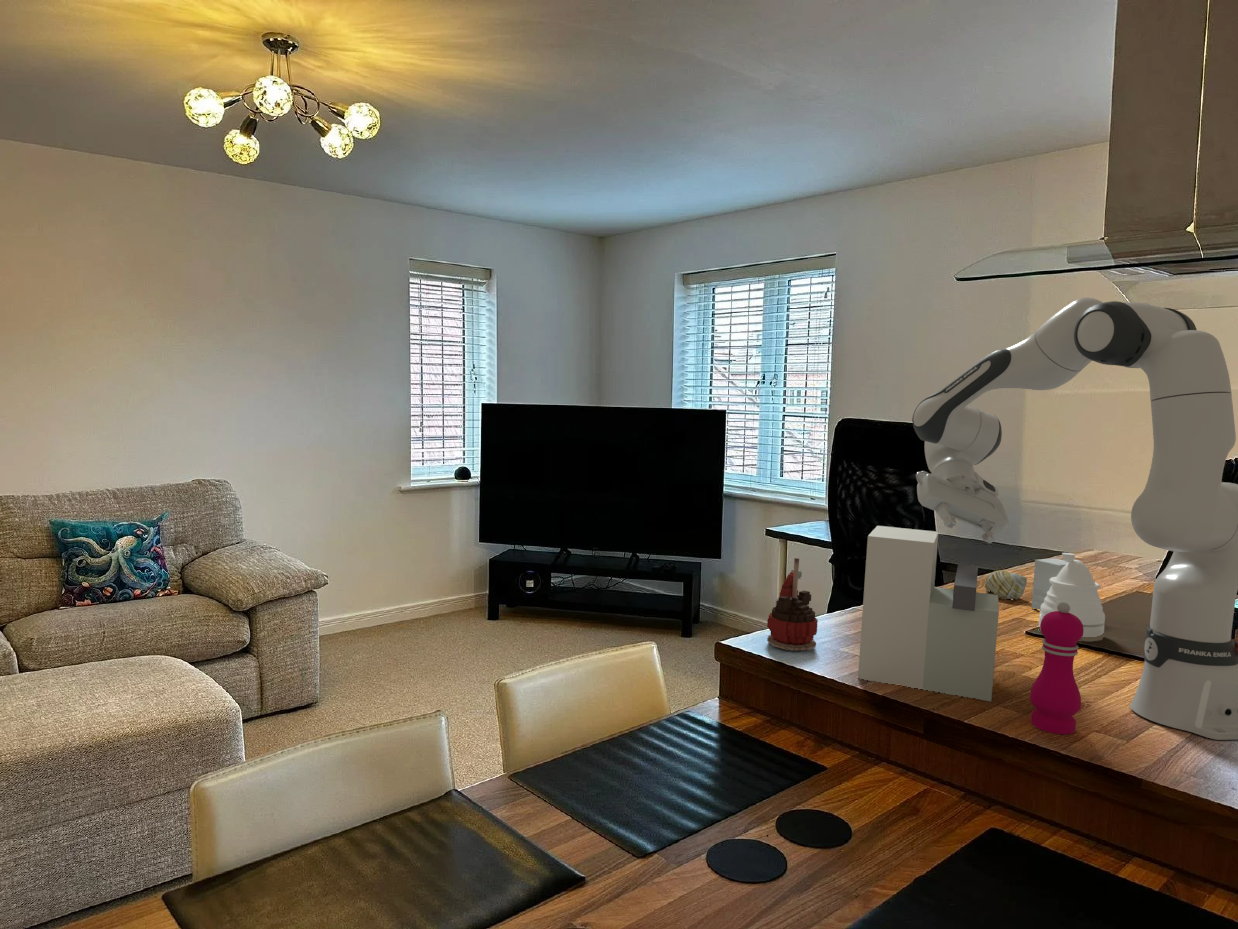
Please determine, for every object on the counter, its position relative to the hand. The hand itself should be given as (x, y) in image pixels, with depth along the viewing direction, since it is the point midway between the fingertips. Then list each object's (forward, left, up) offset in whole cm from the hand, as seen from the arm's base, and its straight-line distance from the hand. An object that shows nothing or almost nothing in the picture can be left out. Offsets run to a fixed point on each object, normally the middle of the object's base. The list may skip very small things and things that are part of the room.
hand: (970, 533), depth 170 cm
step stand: (+13, +19, -24) cm, 33 cm away
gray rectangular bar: (+7, +19, -9) cm, 22 cm away
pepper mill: (-1, +39, -24) cm, 46 cm away
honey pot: (-30, -19, -25) cm, 43 cm away
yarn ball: (-28, -52, -25) cm, 64 cm away
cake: (+35, +4, -24) cm, 43 cm away
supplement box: (-35, -39, -24) cm, 58 cm away
